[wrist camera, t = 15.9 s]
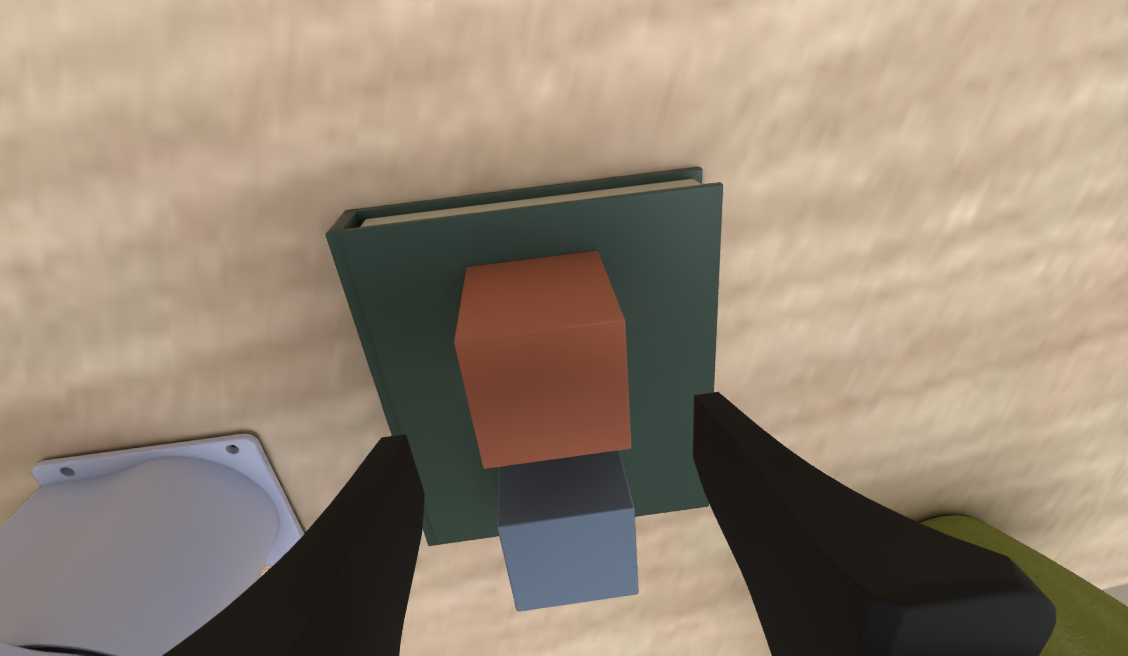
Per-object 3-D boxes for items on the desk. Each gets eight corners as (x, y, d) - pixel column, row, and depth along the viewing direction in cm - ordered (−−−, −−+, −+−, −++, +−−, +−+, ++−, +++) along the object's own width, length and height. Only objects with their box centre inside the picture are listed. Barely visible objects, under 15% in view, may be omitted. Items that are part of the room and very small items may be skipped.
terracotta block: (488, 376, 21) (483, 469, 16) (466, 266, 19) (453, 341, 14) (605, 360, 21) (631, 449, 17) (598, 249, 19) (625, 318, 14)
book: (434, 504, 27) (428, 546, 25) (345, 210, 20) (324, 233, 18) (693, 468, 28) (709, 506, 25) (699, 166, 20) (723, 184, 18)
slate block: (515, 506, 24) (516, 612, 20) (499, 428, 22) (496, 527, 18) (615, 492, 24) (639, 594, 20) (609, 412, 22) (634, 508, 18)
